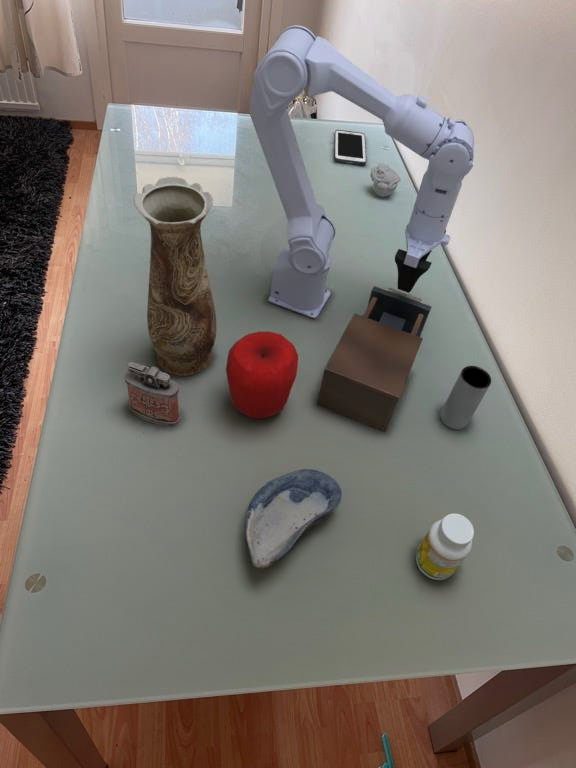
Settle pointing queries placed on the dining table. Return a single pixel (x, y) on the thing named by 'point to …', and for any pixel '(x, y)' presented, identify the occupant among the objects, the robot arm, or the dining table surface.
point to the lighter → (152, 395)
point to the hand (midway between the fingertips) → (410, 276)
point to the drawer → (398, 308)
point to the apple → (261, 373)
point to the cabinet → (368, 371)
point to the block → (392, 321)
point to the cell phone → (350, 147)
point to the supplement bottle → (445, 546)
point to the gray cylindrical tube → (465, 397)
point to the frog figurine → (384, 179)
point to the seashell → (287, 512)
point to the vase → (178, 275)
